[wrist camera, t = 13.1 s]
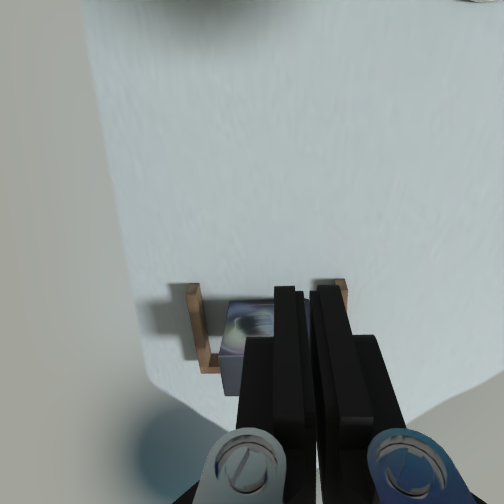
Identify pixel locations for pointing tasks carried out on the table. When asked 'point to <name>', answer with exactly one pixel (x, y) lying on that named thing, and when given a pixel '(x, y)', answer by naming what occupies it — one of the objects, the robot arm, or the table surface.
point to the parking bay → (197, 316)
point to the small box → (235, 332)
